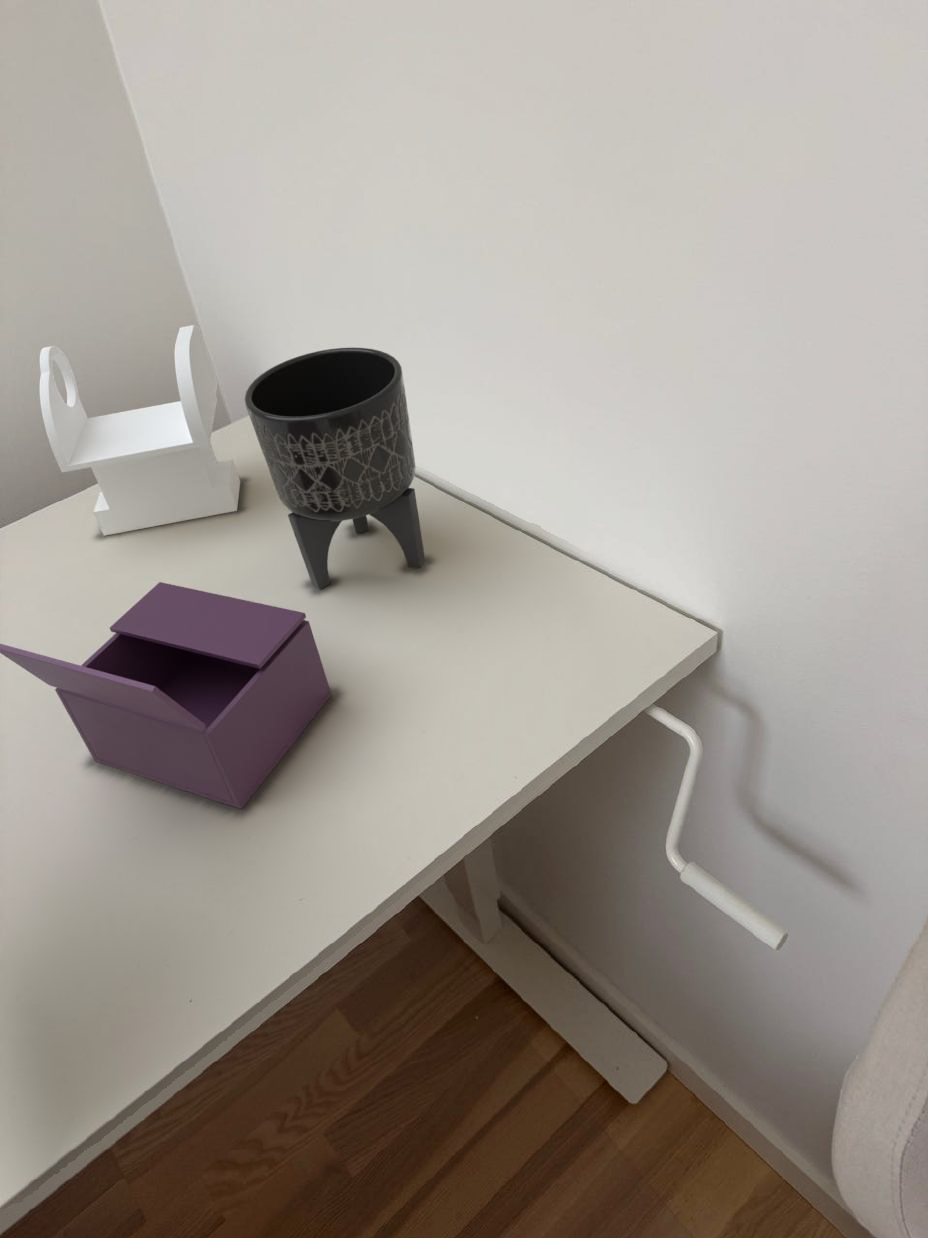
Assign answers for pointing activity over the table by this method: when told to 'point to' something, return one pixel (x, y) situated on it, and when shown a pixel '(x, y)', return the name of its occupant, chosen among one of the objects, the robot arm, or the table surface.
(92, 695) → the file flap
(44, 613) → the table surface
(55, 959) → the table surface
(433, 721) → the table surface
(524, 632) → the table surface
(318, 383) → the planter
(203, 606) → the box
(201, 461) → the tape dispenser
